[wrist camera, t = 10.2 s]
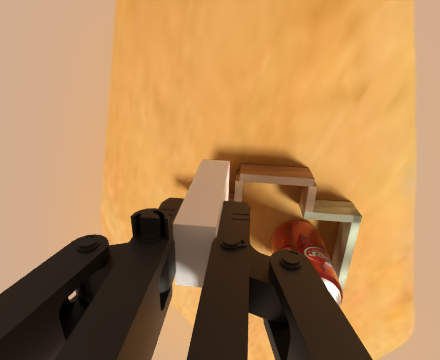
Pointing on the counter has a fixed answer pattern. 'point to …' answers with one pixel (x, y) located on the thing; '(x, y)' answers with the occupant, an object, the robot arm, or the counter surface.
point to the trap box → (309, 207)
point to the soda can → (308, 251)
